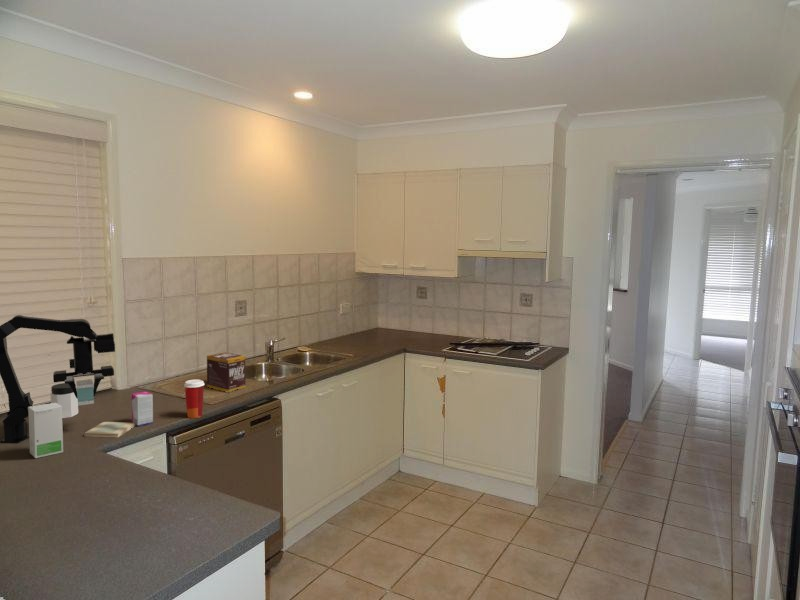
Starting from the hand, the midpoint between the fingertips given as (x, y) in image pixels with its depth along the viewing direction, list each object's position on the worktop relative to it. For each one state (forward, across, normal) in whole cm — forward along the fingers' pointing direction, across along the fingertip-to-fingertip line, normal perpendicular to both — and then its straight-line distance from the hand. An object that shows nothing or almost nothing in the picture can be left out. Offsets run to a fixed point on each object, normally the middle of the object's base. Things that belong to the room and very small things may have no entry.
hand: (85, 396), depth 195 cm
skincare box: (+12, +12, +18) cm, 25 cm away
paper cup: (+13, -37, +2) cm, 39 cm away
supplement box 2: (+14, -58, -33) cm, 68 cm away
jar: (+12, +7, -22) cm, 26 cm away
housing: (+2, 0, 0) cm, 2 cm away
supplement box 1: (+13, -18, +2) cm, 22 cm away
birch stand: (+12, -7, +5) cm, 15 cm away
